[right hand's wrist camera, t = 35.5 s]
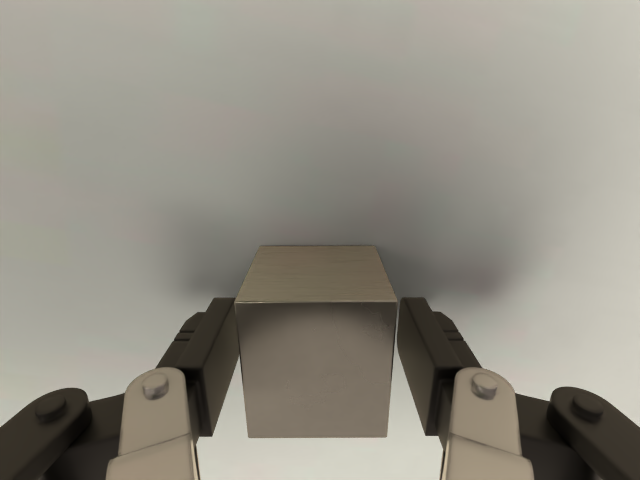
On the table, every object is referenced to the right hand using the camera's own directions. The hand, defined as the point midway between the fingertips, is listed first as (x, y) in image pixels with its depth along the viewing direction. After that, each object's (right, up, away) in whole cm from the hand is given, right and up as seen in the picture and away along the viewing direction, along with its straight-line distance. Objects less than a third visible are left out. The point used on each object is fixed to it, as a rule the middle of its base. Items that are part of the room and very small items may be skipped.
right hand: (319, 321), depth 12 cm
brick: (0, 0, +2) cm, 2 cm away
